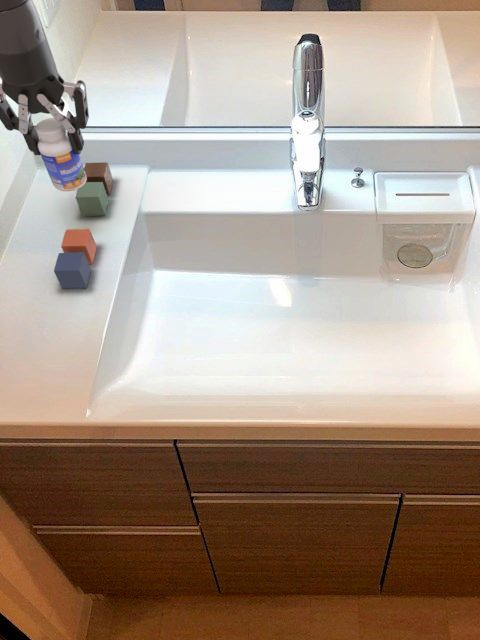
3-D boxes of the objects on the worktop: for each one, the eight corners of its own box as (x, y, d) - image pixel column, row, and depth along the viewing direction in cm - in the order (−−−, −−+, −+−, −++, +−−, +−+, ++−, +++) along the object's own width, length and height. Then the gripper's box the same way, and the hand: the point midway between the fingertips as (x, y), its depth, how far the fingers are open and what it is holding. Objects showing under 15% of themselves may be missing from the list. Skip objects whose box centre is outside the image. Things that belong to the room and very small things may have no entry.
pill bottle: (71, 196, 98) (49, 141, 90) (46, 185, 100) (22, 129, 92) (94, 177, 101) (75, 121, 93) (70, 167, 103) (49, 111, 94)
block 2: (82, 216, 111) (75, 197, 108) (86, 201, 113) (79, 182, 110) (105, 215, 111) (98, 196, 108) (108, 200, 113) (102, 181, 110)
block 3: (68, 264, 104) (60, 246, 101) (73, 247, 107) (65, 229, 103) (92, 264, 104) (85, 245, 101) (97, 247, 107) (90, 228, 103)
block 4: (62, 288, 101) (53, 270, 98) (67, 270, 104) (58, 252, 100) (86, 288, 101) (79, 270, 98) (91, 270, 104) (83, 252, 100)
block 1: (88, 195, 114) (81, 176, 111) (92, 181, 116) (85, 162, 113) (110, 195, 114) (104, 176, 111) (113, 181, 116) (107, 162, 113)
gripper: (75, 21, 84) (109, 136, 98) (-32, 23, 84) (17, 138, 98) (64, 50, 80) (101, 166, 94) (-49, 53, 80) (5, 168, 94)
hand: (58, 151), depth 96 cm, fingers closed on pill bottle, 5 cm apart
